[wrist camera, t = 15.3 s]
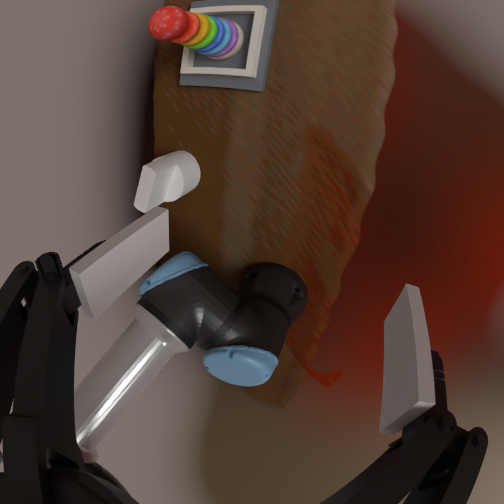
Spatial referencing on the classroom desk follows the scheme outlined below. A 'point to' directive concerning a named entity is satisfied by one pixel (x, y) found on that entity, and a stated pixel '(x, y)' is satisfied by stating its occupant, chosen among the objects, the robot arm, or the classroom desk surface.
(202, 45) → the stacking toy
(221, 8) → the board
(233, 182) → the classroom desk surface
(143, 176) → the cylinder with rectangular tab
